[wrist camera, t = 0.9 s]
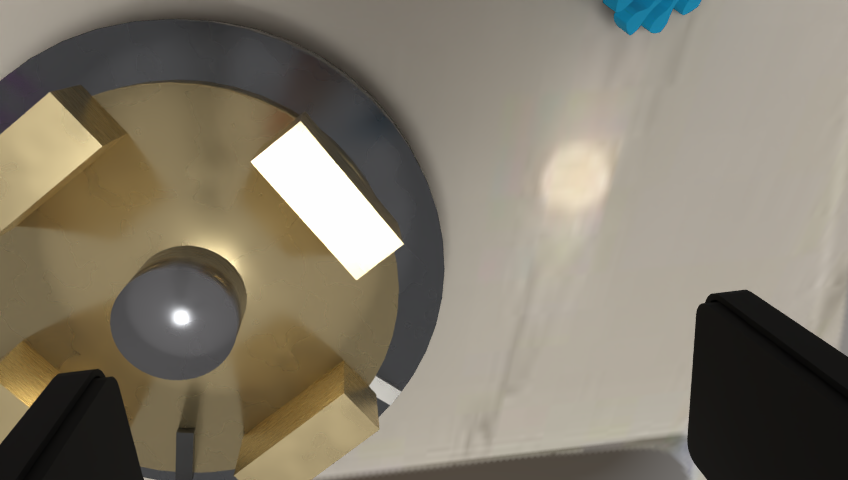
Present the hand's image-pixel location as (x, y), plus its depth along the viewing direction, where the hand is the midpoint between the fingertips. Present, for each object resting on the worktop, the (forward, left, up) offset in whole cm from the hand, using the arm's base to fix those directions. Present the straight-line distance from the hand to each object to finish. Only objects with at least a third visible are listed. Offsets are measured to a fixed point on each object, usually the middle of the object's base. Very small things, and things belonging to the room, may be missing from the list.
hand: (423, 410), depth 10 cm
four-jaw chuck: (+7, -8, -21) cm, 24 cm away
